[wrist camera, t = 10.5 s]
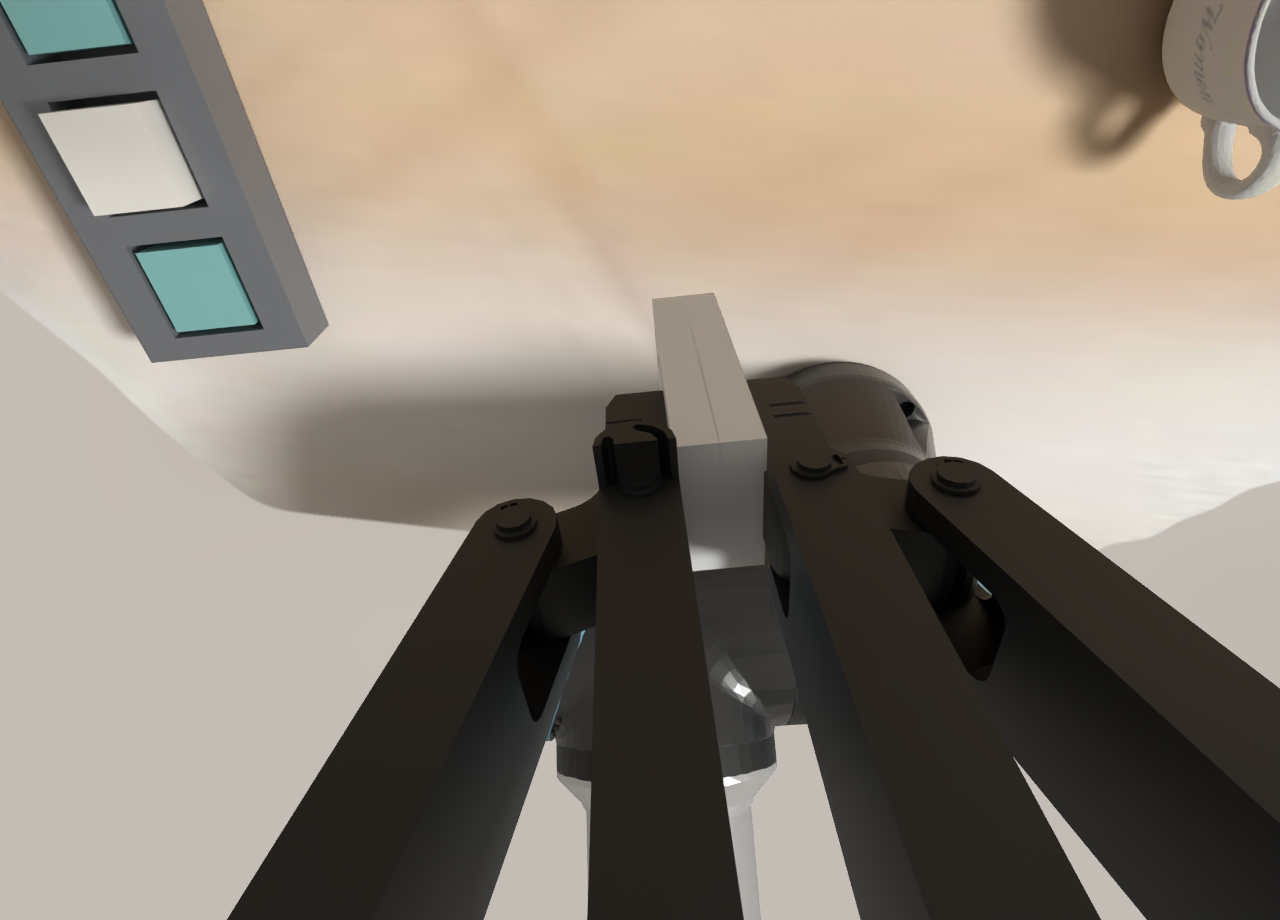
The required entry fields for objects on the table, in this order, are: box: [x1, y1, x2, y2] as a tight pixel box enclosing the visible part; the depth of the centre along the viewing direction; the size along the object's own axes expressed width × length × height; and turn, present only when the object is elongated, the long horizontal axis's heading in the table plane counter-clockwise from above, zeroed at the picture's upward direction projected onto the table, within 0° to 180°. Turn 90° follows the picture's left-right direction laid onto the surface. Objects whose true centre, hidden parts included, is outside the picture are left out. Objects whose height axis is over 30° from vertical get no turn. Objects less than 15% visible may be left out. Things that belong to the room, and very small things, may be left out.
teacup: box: [1162, 0, 1280, 200], centre depth 32 cm, size 14×11×8 cm
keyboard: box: [0, 0, 328, 363], centre depth 33 cm, size 30×10×4 cm, turn 5°
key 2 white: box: [38, 99, 204, 216], centre depth 34 cm, size 5×5×2 cm
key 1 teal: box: [135, 237, 260, 332], centre depth 39 cm, size 5×5×2 cm
